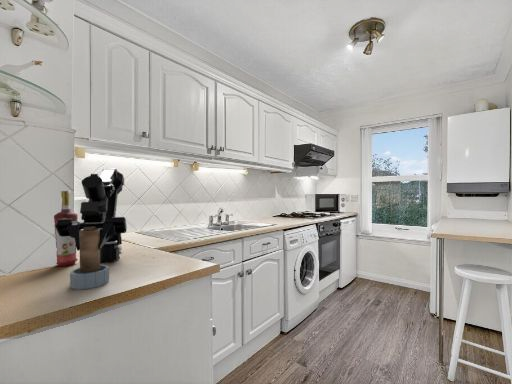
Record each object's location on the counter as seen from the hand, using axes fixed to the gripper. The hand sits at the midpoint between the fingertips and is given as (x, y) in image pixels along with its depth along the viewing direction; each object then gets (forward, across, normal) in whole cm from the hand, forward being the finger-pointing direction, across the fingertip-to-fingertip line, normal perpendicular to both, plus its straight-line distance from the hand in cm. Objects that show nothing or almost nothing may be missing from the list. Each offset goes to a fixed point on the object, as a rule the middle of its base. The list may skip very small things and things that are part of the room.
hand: (88, 249), depth 78 cm
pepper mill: (+4, 0, +6) cm, 7 cm away
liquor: (-12, -14, +28) cm, 33 cm away
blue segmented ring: (+7, 0, +8) cm, 11 cm away
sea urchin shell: (-22, -1, +38) cm, 44 cm away
